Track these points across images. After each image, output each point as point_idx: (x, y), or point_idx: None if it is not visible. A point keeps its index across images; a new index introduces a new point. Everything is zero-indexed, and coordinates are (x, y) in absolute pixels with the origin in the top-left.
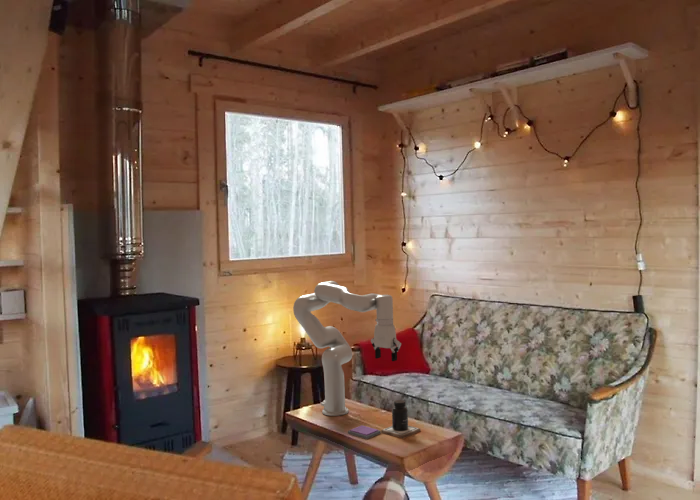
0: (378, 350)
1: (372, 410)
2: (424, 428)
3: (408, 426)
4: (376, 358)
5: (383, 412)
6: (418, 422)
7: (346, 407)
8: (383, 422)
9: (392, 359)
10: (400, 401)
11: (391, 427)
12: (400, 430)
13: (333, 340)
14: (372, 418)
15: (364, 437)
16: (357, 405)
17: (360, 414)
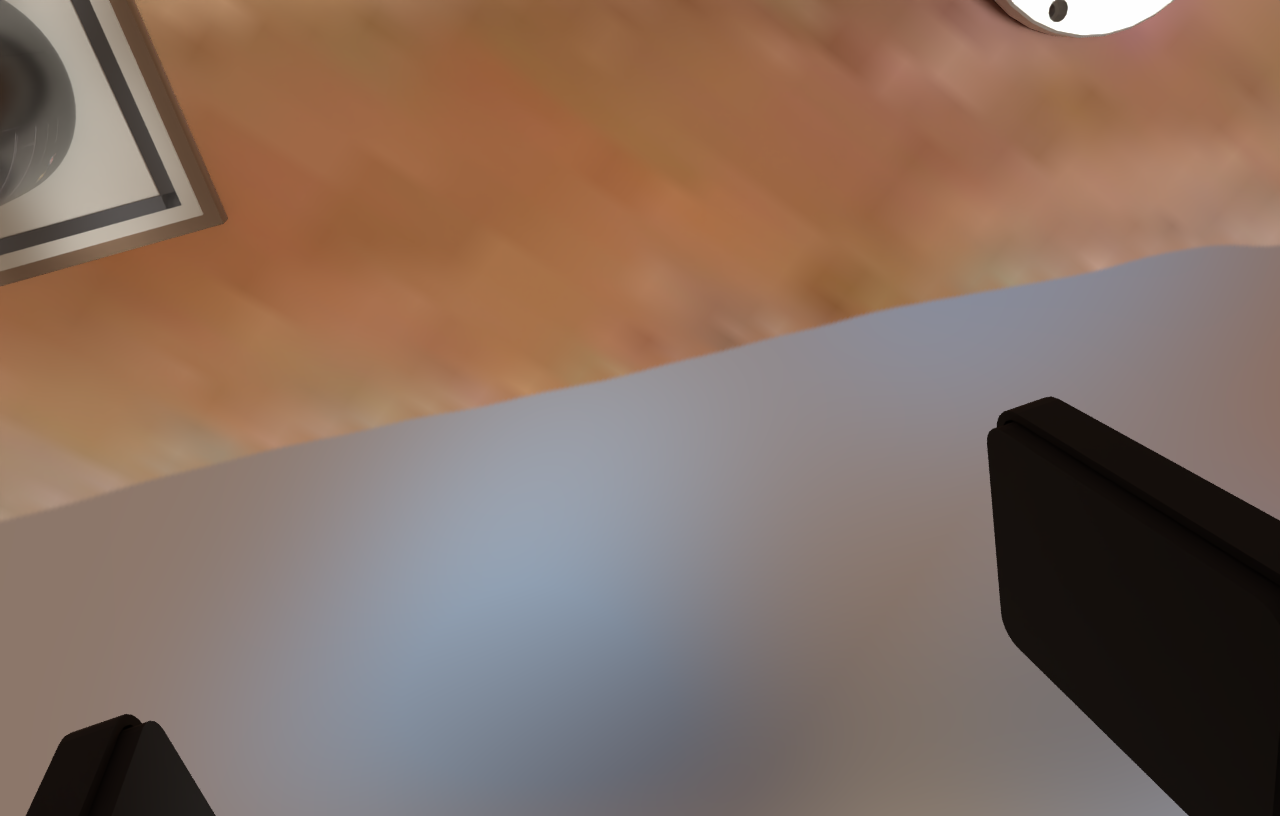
0: (1245, 736)
1: (856, 266)
2: None
3: (4, 237)
4: (998, 418)
5: (727, 326)
6: (204, 456)
7: (1082, 35)
8: (431, 126)
9: (40, 785)
10: None
11: (82, 28)
12: None
13: None
14: (635, 104)
15: None
16: (1084, 227)
17: (839, 73)
